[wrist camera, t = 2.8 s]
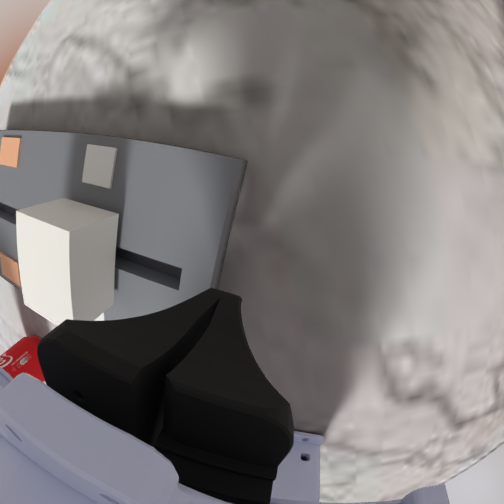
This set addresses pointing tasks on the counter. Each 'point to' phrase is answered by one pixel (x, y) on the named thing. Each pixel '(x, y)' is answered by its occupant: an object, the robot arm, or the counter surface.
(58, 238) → the fader knob
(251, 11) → the counter surface
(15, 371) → the beverage can
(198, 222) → the fader console
